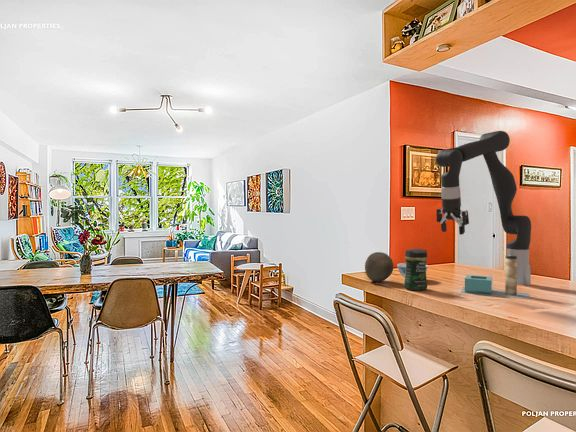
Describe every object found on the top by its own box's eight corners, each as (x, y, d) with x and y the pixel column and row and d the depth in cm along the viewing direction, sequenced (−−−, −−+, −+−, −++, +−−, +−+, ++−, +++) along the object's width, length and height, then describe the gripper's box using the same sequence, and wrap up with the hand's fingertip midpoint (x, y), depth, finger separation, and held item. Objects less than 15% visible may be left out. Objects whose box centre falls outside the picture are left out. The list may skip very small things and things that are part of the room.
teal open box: (492, 290, 162) (492, 276, 162) (491, 294, 154) (491, 280, 154) (466, 287, 167) (466, 274, 167) (464, 292, 159) (464, 278, 159)
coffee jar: (411, 291, 166) (411, 250, 165) (401, 288, 173) (401, 248, 173) (430, 290, 168) (430, 249, 168) (420, 286, 176) (420, 247, 175)
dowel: (510, 293, 157) (511, 255, 157) (519, 295, 153) (519, 256, 153) (503, 293, 156) (503, 255, 156) (511, 295, 152) (511, 256, 152)
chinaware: (402, 276, 203) (402, 262, 203) (431, 279, 194) (431, 264, 194) (393, 280, 191) (393, 265, 191) (422, 283, 182) (422, 268, 182)
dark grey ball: (363, 283, 183) (363, 253, 183) (366, 278, 197) (366, 250, 197) (393, 285, 179) (393, 254, 179) (393, 280, 193) (393, 251, 192)
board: (528, 295, 157) (528, 292, 157) (530, 302, 146) (530, 299, 146) (463, 289, 170) (463, 287, 170) (460, 295, 158) (460, 292, 158)
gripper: (471, 195, 156) (473, 233, 159) (442, 194, 168) (444, 228, 171) (460, 199, 152) (462, 237, 155) (431, 197, 164) (433, 232, 167)
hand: (452, 232), depth 163 cm, fingers open, 8 cm apart
